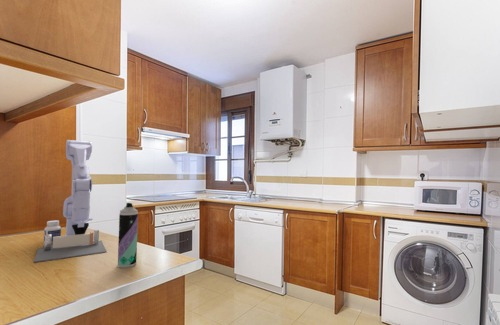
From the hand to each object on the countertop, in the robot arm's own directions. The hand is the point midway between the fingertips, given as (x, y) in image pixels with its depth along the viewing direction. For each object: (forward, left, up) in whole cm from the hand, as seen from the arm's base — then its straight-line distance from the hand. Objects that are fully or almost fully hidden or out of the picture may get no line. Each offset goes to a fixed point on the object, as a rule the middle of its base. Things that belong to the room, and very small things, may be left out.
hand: (79, 242), depth 104 cm
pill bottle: (-7, -9, -2) cm, 11 cm away
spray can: (+32, +12, -2) cm, 34 cm away
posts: (+1, -2, -2) cm, 3 cm away
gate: (+2, -2, -1) cm, 3 cm away
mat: (+5, -3, -2) cm, 6 cm away
